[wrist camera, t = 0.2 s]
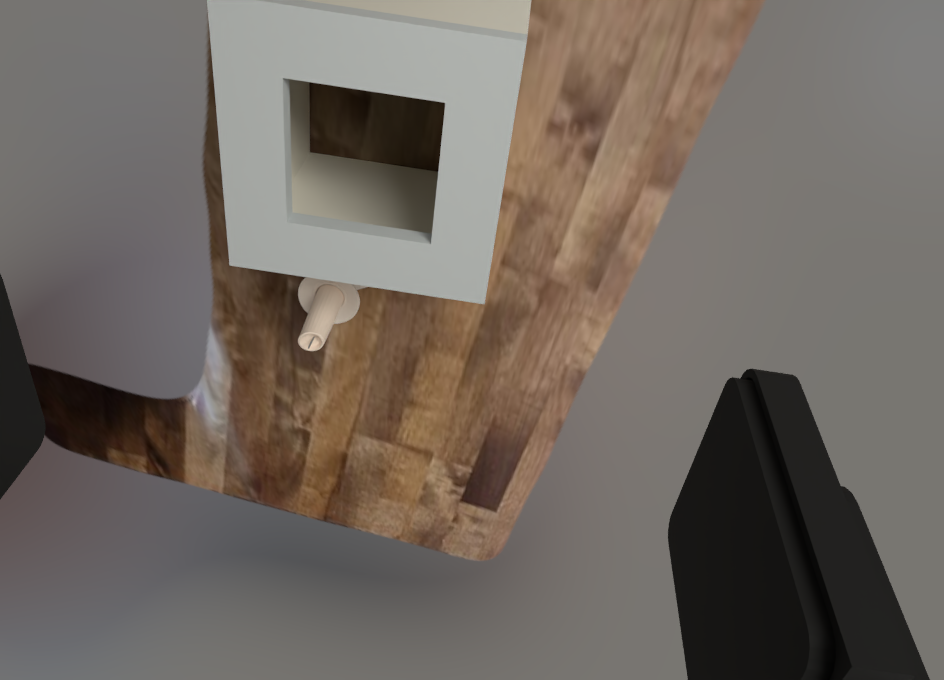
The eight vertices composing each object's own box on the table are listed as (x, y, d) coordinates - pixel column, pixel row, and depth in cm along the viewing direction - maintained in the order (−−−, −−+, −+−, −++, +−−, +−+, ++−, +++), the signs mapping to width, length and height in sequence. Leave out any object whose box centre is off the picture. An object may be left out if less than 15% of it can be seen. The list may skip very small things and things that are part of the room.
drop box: (289, -64, 40) (206, -8, 31) (534, -27, 40) (526, 41, 31) (294, 164, 48) (229, 265, 39) (499, 195, 48) (484, 304, 39)
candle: (394, 234, 51) (362, 327, 43) (375, 295, 54) (342, 393, 46) (317, 209, 50) (269, 298, 42) (303, 272, 53) (256, 367, 45)
